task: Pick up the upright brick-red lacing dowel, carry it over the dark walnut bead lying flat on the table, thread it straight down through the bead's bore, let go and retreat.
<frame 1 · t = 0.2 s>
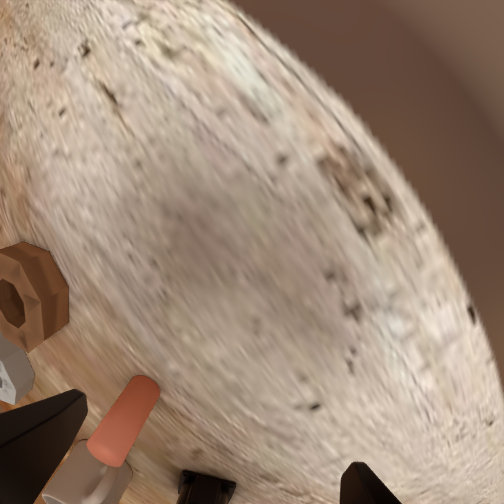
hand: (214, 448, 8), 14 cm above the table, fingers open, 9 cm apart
slate bead: (9, 357, 26), on the table
mug: (109, 456, 28), on the table
walnut bead: (36, 290, 23), on the table
lacing dowel: (145, 388, 24), on the table
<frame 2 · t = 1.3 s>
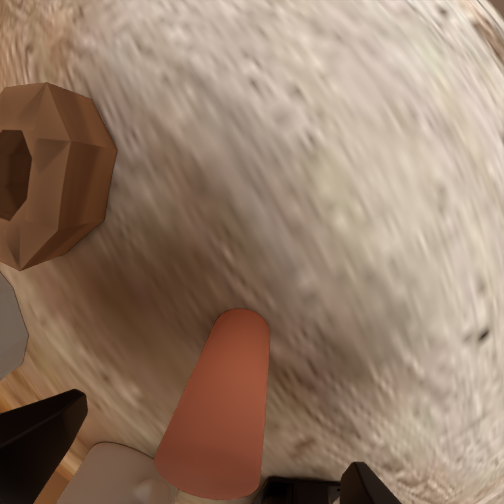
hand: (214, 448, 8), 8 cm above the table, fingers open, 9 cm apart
mug: (143, 466, 19), on the table
walnut bead: (51, 173, 14), on the table
lacing dowel: (241, 334, 15), on the table
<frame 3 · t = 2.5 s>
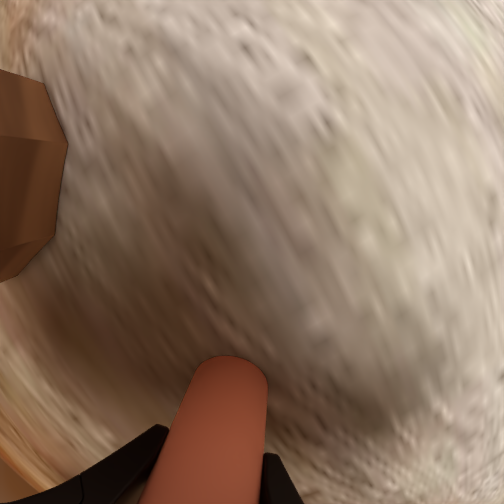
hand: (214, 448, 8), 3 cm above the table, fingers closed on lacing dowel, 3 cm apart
walnut bead: (1, 176, 10), on the table
lacing dowel: (230, 386, 11), on the table, touching gripper
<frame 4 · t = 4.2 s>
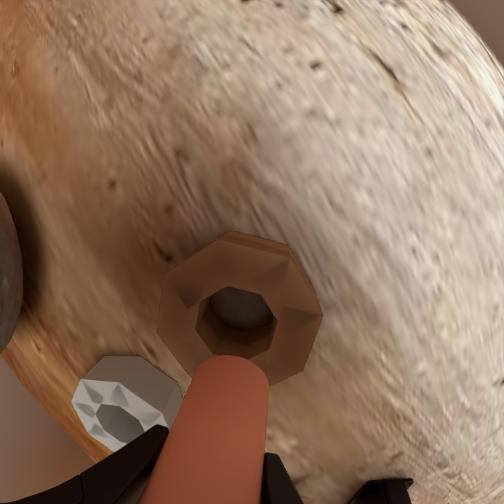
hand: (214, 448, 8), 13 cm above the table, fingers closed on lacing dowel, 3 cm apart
slate bead: (138, 398, 23), on the table
bowl: (1, 252, 22), on the table
walnut bead: (243, 301, 20), on the table
lacing dowel: (230, 386, 11), point 10 cm above the table, touching gripper
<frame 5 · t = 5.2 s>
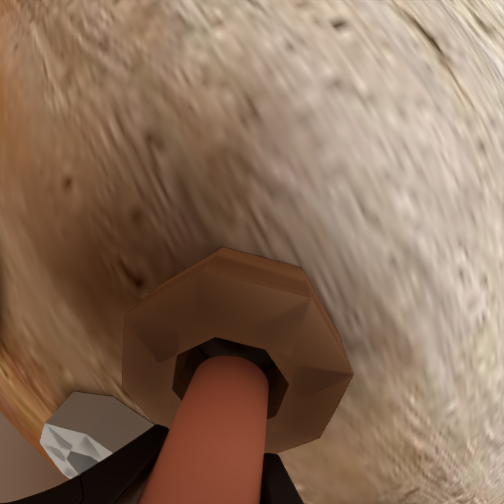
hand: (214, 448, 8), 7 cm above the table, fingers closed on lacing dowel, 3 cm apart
slate bead: (116, 438, 18), on the table
walnut bead: (239, 341, 15), on the table
lacing dowel: (230, 386, 11), point 4 cm above the table, touching gripper
when the fingers open (5 cm above the table, at t = 5.9 s): lacing dowel drops 2 cm, resting in walnut bead.
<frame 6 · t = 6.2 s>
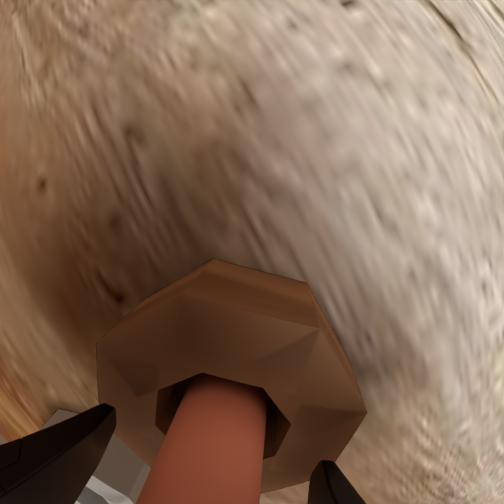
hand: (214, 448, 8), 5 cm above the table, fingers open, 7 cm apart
slate bead: (105, 458, 15), on the table
walnut bead: (234, 365, 13), on the table
lacing dowel: (235, 364, 13), resting in walnut bead
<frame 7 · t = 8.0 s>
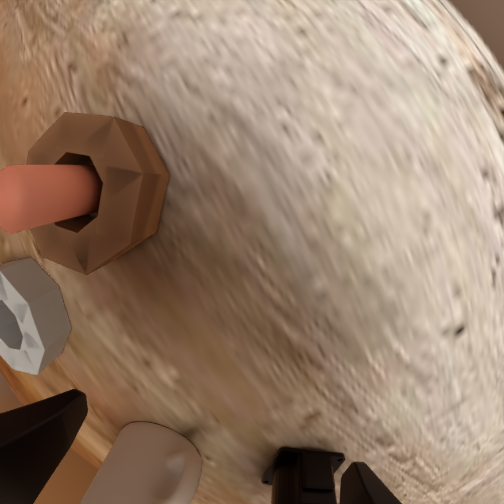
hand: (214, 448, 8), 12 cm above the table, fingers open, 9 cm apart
slate bead: (32, 307, 21), on the table
mug: (169, 442, 24), on the table
walnut bead: (105, 188, 18), on the table
lacing dowel: (106, 187, 18), resting in walnut bead
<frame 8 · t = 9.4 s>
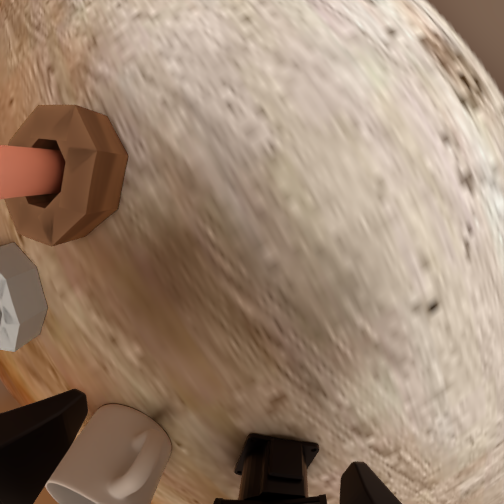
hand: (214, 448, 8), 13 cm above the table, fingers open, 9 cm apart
slate bead: (15, 290, 22), on the table
mug: (141, 427, 24), on the table
walnut bead: (75, 173, 19), on the table
lacing dowel: (75, 172, 19), resting in walnut bead
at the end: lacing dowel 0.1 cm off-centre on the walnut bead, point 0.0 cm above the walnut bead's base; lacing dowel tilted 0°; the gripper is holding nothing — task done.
